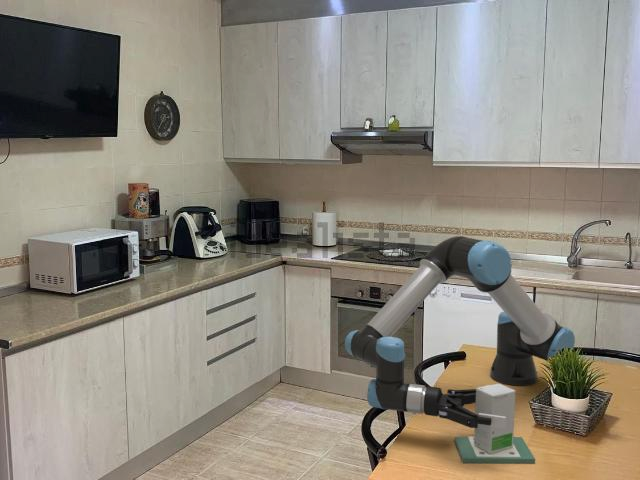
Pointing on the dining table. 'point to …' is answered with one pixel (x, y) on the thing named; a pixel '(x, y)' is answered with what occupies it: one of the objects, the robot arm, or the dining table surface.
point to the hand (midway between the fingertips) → (508, 411)
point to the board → (477, 455)
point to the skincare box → (500, 404)
